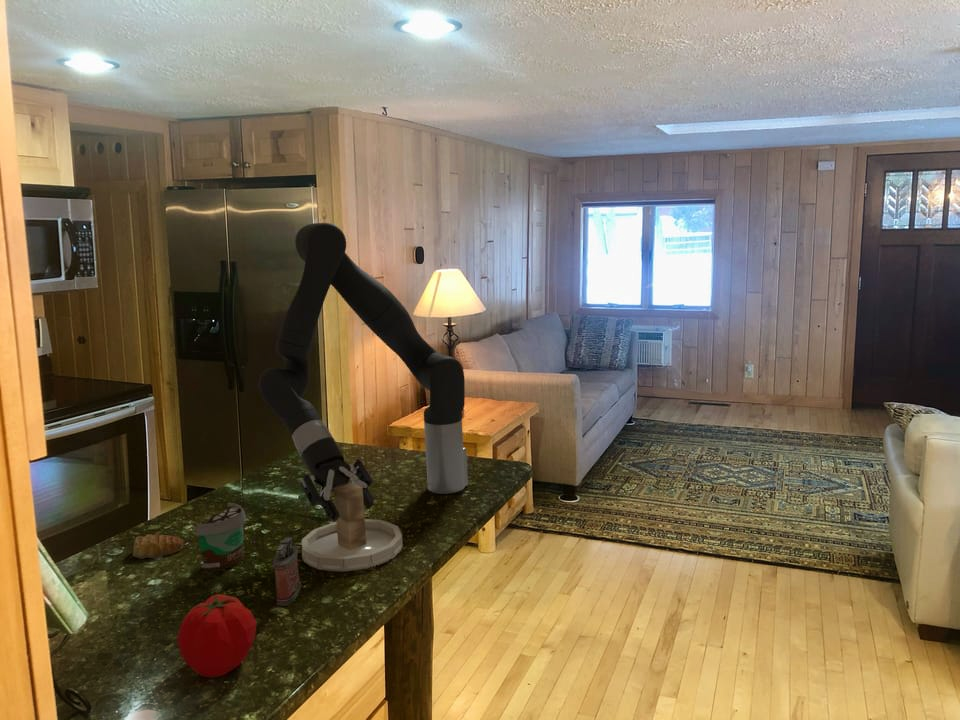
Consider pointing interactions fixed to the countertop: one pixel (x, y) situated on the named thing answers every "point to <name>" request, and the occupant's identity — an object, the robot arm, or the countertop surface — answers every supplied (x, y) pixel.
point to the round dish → (330, 556)
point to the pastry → (156, 546)
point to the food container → (222, 538)
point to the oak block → (350, 516)
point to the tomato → (216, 635)
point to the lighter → (286, 572)
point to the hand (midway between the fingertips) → (354, 512)
